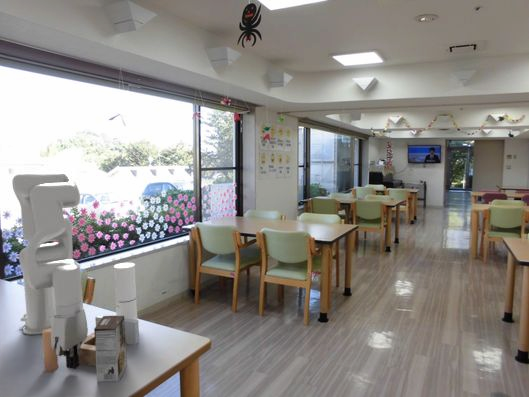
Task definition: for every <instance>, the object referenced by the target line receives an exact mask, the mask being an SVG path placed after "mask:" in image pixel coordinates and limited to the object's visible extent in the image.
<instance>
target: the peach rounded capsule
mask: <svg viewBox="0 0 529 397" xmlns="http://www.w3.org/2000/svg"><path fill="white" fill-rule="evenodd" d="M41 335H42V336H41V337H42V339H41V340H42V352H43V362H44V363H43V366H44V372H54V371H57V370H58V368H59V359H58V358H59V357H58V356H56V349H52V347H51V328H50V329H46V330H44V331H42V334H41Z"/></svg>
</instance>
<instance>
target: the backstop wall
mask: <svg viewBox="0 0 529 397" xmlns="http://www.w3.org/2000/svg"><path fill="white" fill-rule="evenodd" d="M103 316H104V315H102V314H101V315H99V314H98V315H97V316H95V318H94V319H95V327H96V326H97V324H98V323H99V322H100V320H101V319H102V317H103ZM124 323H125V340H126V345H135V346H136V345H138V344H139V343H140V328H139V327H140V325H139V320H138V319H137V320H133V319H126V318H124ZM137 343H138V344H137Z"/></svg>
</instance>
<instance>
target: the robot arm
mask: <svg viewBox="0 0 529 397" xmlns="http://www.w3.org/2000/svg"><path fill="white" fill-rule="evenodd" d="M12 189H13V192H14V194H15V196H16V198H17V200H18V202H19V205H20V209H21V210H20V212H21V229H22V230H21V231H22V236H23V239H24V240H25V241H26V242H27V243H28V244H27V245H26V247H24V248H22V250H21V251H20V252H19V254H18V260H19V265H20V269H21V272H22V277H23V279H22V280H23V287H24V301H25V310H26V311H25V312H26V313H24V314H23V316H22V317H21V318H20V321H21V322H24V323H25V324H24V326H23V327H22V332H23V334H26V335H29V336H30V335H31V336H33V335H34V336H35V335H36V336H37V335H42V331H44V330H46V329H50V328H51V347H52V349H56V356H57V357H63V356H64V357H65V362H66V363H65V366H66V368H68V369H73V370H76V369H77V368H78V367H79V366H80V363H79V355H78V353H79V352H80V347H81V345H82V343H83V342H84V341H85V340H86V337H87V336H88V333H89V331H88V321H87V320H88V319H87V316H86V311H85V307H84V299H83V290H82V288H83V287H82V284H83V283H82V274H81V266H80V263H79V262H78V261H77V260H75V259H73V257H74V253H73V228H72V223H71V222H72V221H71V219H70V218H69V216H68V215H66V214H64V209H69V208H75V207H77V206H79V204H80V202H81V194H80V190H79V187H78V186H77V183H76V182H75V181H74V179H73V178H72V177H71V176H70V174H68V173H67V172H64V171H46V172H45V171H44V172H41V171H40V172H39V171H38V172H36V171H35V172H22V173H19V174H16V175H14V177H13V178H12ZM52 241H53V242H52ZM54 241H55V242H54ZM56 241H57V242H56ZM46 242H50V243H46Z"/></svg>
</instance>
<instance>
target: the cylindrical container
mask: <svg viewBox="0 0 529 397" xmlns="http://www.w3.org/2000/svg"><path fill="white" fill-rule="evenodd" d="M113 276H114V277H113V279H114V291H115V292H114V296H115V313H116V314H115V316H124V318H126V319H133V320H138V308H137V306H138V305H137V304H138V302H137V284H136V282H137V281H136V264H135V263H133V262H121V263H116V264H115V265H113Z"/></svg>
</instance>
